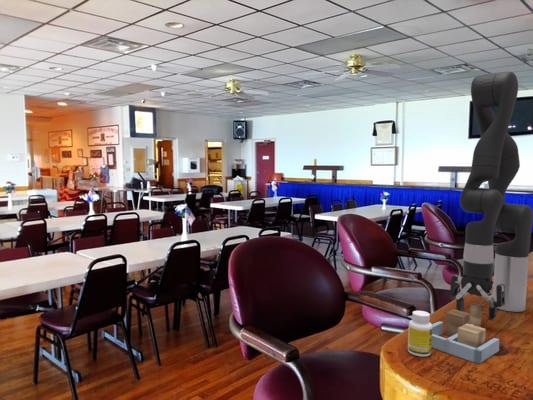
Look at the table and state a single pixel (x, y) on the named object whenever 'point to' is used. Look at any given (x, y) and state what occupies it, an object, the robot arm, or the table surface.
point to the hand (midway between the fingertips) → (475, 315)
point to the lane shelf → (462, 346)
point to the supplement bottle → (420, 334)
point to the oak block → (471, 335)
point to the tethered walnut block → (462, 319)
